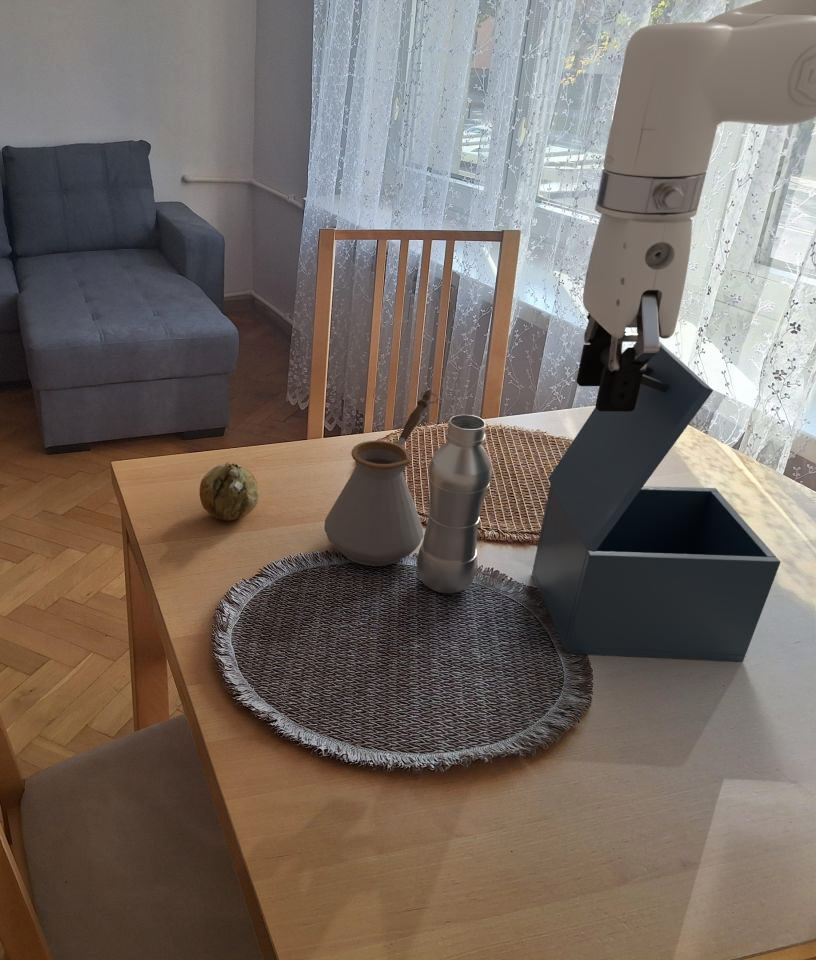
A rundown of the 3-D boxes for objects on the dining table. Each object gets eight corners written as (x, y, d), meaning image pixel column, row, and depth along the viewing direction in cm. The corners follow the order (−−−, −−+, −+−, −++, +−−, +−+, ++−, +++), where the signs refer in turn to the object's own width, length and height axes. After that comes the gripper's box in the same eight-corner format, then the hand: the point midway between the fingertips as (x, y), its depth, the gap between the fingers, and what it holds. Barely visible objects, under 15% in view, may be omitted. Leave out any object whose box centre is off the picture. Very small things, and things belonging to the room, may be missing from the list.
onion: (273, 511, 111) (274, 456, 107) (233, 536, 106) (233, 480, 102) (228, 492, 116) (228, 439, 112) (188, 516, 111) (186, 461, 107)
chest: (686, 579, 95) (715, 487, 90) (743, 661, 84) (781, 561, 78) (531, 574, 97) (550, 483, 91) (565, 653, 85) (589, 555, 80)
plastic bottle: (480, 575, 97) (508, 415, 87) (465, 608, 92) (492, 441, 82) (424, 560, 100) (444, 403, 90) (406, 591, 95) (426, 428, 85)
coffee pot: (398, 587, 96) (412, 469, 88) (306, 556, 102) (312, 443, 94) (461, 504, 111) (478, 397, 104) (378, 481, 117) (387, 379, 109)
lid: (652, 334, 83) (599, 314, 82) (713, 390, 71) (652, 367, 70) (554, 481, 91) (506, 463, 91) (594, 552, 79) (539, 532, 79)
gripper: (746, 215, 62) (684, 438, 71) (657, 173, 77) (615, 363, 86) (637, 217, 63) (589, 438, 72) (570, 175, 78) (537, 363, 87)
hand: (604, 395), depth 79 cm, fingers closed on lid, 4 cm apart
